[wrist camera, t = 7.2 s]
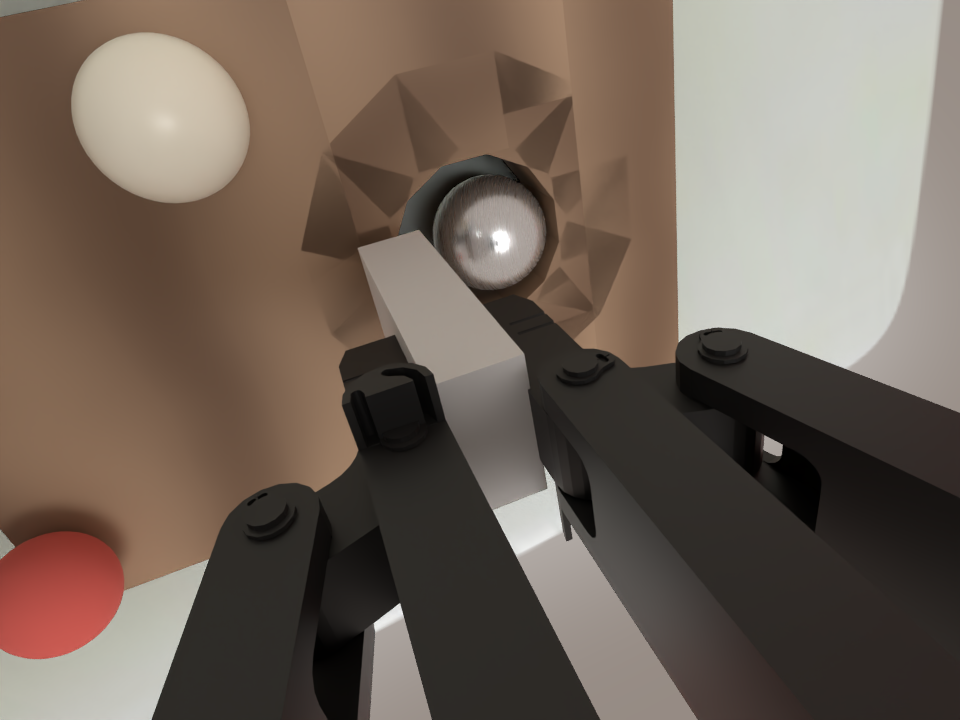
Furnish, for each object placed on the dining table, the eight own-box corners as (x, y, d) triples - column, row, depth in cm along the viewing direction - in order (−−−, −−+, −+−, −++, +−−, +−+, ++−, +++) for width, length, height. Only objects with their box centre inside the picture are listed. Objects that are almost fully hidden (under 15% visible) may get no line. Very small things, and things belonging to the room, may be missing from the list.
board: (88, 548, 20) (70, 610, 18) (-269, 81, 12) (-373, 92, 10) (640, 351, 23) (679, 383, 21) (615, -100, 16) (670, -118, 14)
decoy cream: (133, 200, 13) (108, 241, 11) (59, 50, 12) (10, 57, 9) (269, 164, 14) (275, 195, 12) (216, 16, 12) (209, 14, 10)
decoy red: (41, 606, 17) (7, 705, 15) (-24, 533, 16) (-74, 628, 13) (151, 565, 18) (136, 654, 15) (99, 491, 16) (72, 575, 14)
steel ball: (435, 315, 17) (548, 305, 17) (406, 206, 16) (530, 190, 15) (459, 265, 20) (557, 254, 19) (436, 167, 18) (543, 152, 18)
